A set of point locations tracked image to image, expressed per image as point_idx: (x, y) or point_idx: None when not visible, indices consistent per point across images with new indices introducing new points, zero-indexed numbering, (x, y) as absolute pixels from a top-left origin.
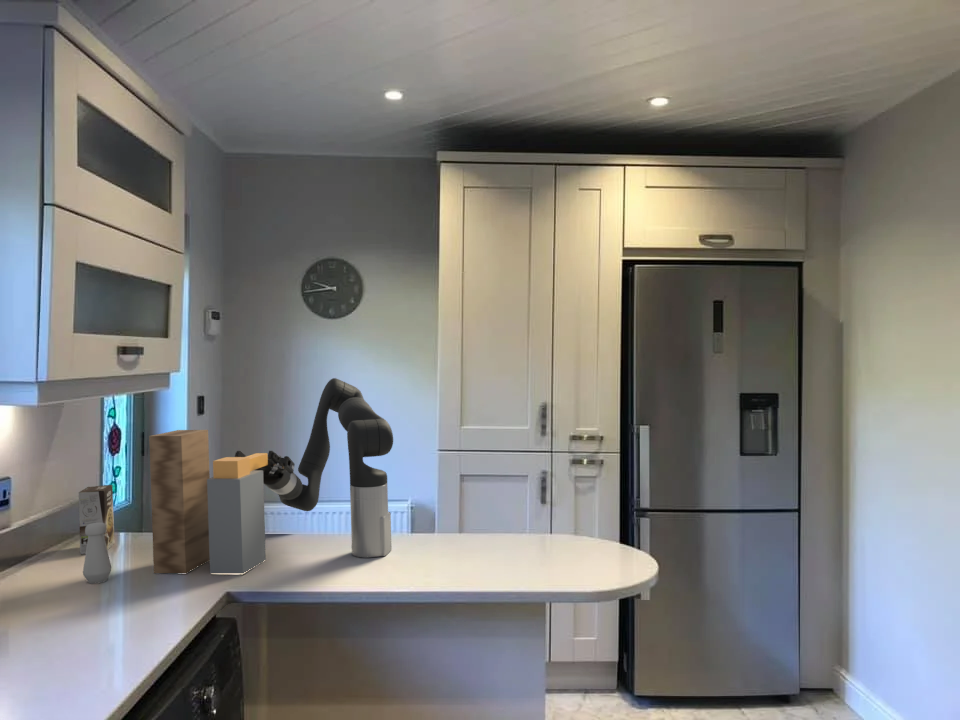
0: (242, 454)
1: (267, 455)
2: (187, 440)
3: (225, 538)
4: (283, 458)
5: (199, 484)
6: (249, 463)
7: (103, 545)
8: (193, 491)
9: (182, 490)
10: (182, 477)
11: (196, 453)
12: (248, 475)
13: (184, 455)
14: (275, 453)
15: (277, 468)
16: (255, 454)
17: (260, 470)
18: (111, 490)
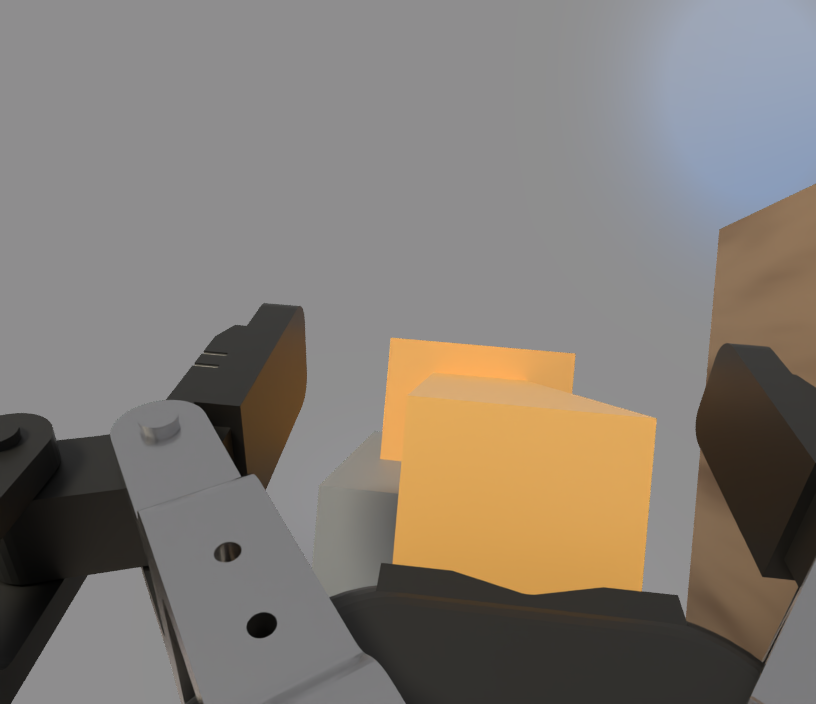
0: (758, 411)
1: (403, 442)
2: (745, 252)
3: None
4: (76, 448)
5: (783, 582)
6: (387, 383)
7: None
8: (740, 586)
9: (697, 523)
10: (700, 453)
11: (786, 341)
12: (368, 447)
13: (721, 337)
14: (217, 340)
15: (175, 681)
16: (557, 400)
17: (343, 486)
18: None
